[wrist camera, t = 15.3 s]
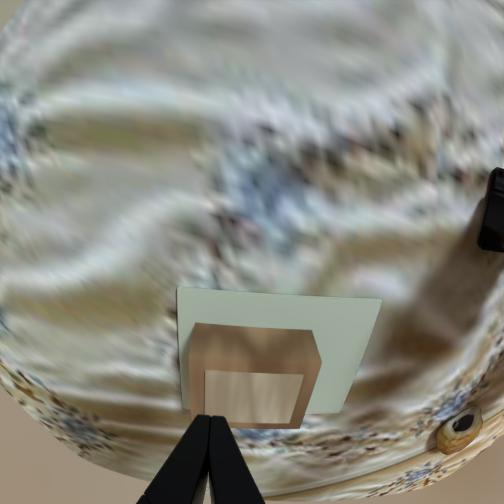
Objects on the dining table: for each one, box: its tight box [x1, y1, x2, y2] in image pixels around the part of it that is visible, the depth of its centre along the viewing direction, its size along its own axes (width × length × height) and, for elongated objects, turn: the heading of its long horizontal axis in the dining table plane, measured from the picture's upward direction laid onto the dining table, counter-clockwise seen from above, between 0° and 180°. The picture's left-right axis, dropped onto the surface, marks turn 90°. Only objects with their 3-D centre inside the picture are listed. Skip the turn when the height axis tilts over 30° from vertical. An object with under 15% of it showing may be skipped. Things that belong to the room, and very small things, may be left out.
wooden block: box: [189, 322, 322, 429], centre depth 21 cm, size 4×7×8 cm
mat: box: [177, 287, 382, 414], centre depth 23 cm, size 14×12×1 cm
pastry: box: [436, 406, 483, 455], centre depth 28 cm, size 9×7×4 cm
